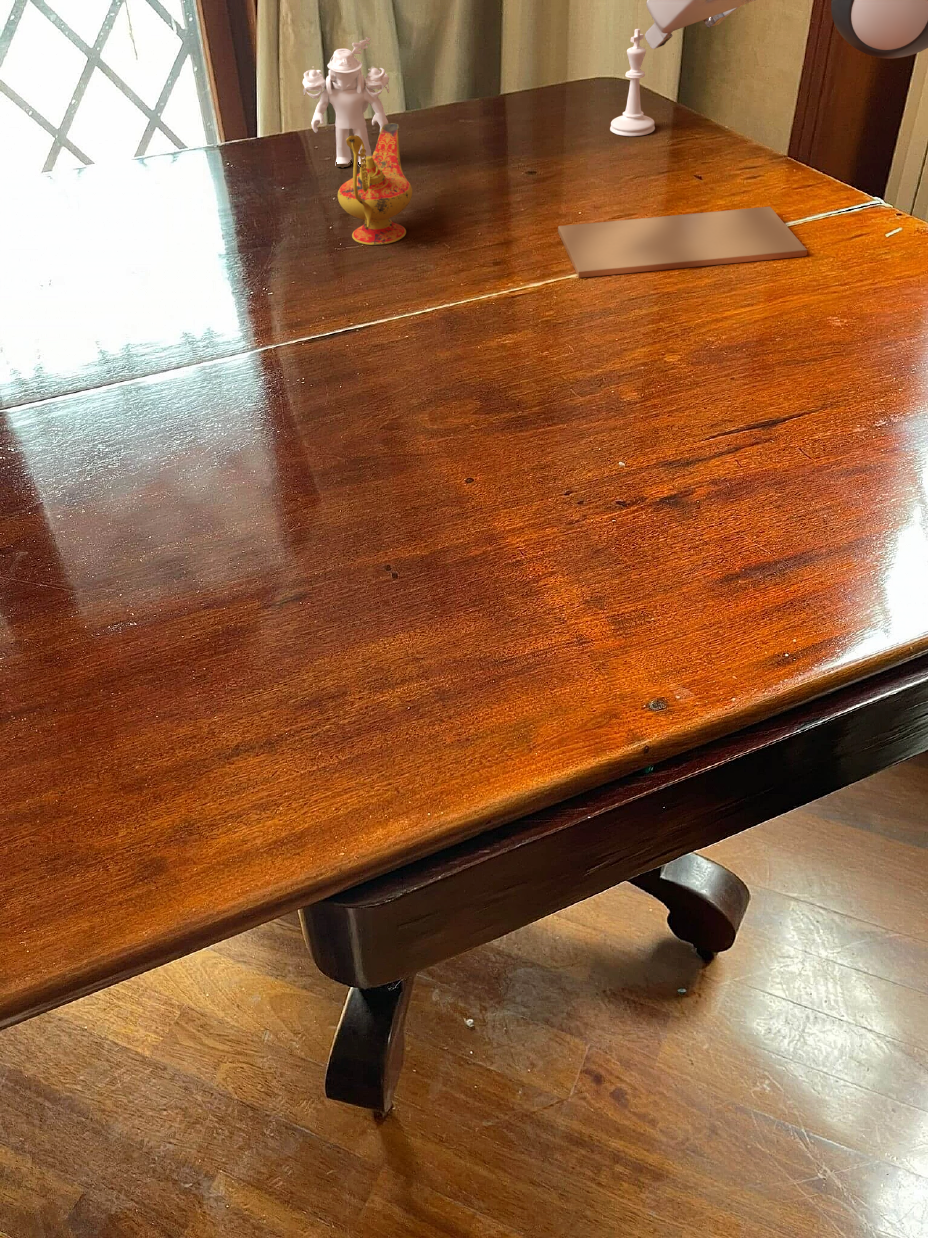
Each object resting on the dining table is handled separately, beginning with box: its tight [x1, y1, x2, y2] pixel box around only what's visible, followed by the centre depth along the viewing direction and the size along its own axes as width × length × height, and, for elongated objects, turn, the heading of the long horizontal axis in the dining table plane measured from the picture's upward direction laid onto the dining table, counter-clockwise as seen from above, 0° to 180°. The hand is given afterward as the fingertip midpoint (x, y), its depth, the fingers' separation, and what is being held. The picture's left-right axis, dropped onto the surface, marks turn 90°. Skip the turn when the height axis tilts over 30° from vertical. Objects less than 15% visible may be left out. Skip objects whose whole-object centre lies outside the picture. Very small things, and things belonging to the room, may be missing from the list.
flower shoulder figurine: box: [302, 36, 390, 164], centre depth 113 cm, size 9×4×12 cm, turn 87°
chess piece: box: [609, 28, 656, 137], centre depth 118 cm, size 5×5×10 cm
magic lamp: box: [337, 122, 413, 246], centre depth 100 cm, size 7×18×11 cm, turn 173°
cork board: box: [557, 206, 808, 279], centre depth 98 cm, size 20×10×1 cm, turn 96°
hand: (680, 30), depth 111 cm, fingers open, 8 cm apart
